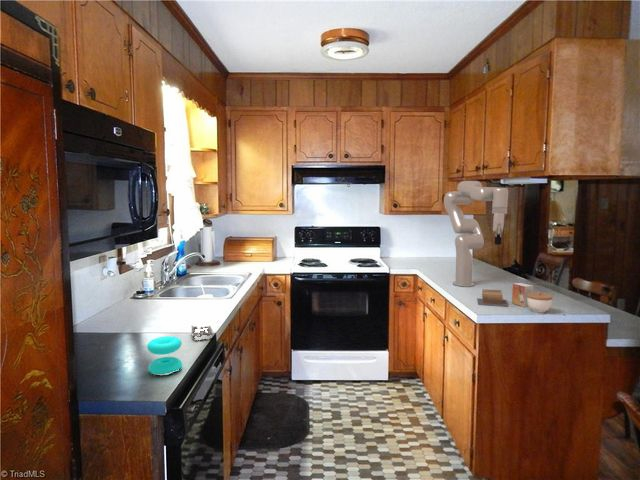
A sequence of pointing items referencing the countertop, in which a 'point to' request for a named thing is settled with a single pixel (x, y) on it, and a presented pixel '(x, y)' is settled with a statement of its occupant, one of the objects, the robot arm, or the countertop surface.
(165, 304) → the countertop surface
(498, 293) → the slab
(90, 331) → the countertop surface
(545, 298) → the lidded jar
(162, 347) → the donuts
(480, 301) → the mat
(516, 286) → the small box
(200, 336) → the egg carton
